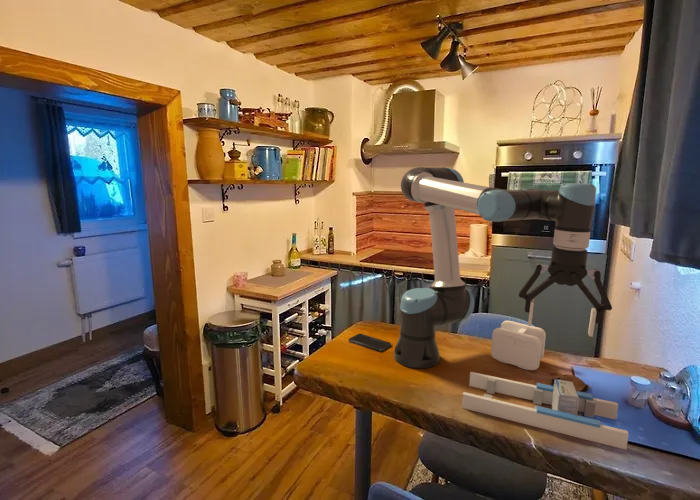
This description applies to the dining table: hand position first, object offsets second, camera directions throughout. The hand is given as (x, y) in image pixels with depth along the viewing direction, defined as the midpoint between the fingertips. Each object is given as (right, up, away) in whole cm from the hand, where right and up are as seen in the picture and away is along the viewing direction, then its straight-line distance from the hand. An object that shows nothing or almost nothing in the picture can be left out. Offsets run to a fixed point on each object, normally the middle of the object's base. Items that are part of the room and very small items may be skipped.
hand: (559, 329), depth 96 cm
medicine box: (+1, -23, 0) cm, 23 cm away
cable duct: (-4, -22, +2) cm, 23 cm away
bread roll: (+11, -21, +15) cm, 28 cm away
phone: (-46, -15, +44) cm, 66 cm away
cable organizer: (+3, -17, +31) cm, 35 cm away
